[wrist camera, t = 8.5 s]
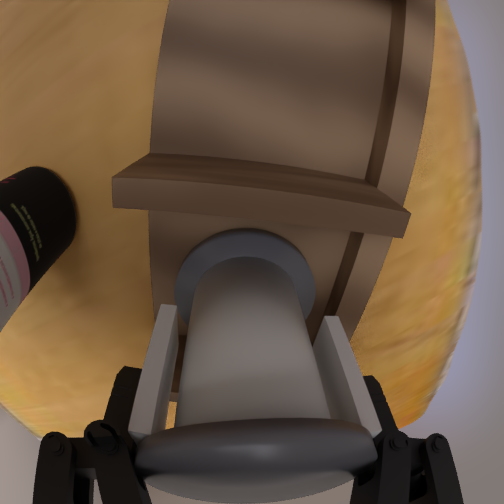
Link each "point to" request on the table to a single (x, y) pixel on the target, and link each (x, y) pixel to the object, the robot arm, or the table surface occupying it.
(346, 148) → the wooden divided tray
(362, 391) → the robot arm
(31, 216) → the beverage can
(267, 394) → the cable reel
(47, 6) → the table surface
